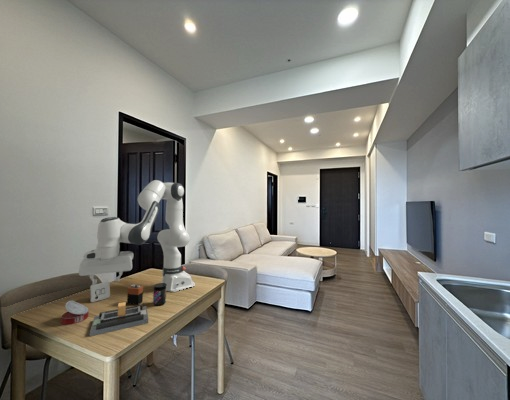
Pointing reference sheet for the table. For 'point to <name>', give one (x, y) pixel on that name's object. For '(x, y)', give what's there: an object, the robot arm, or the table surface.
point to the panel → (117, 327)
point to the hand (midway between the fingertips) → (106, 282)
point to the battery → (135, 294)
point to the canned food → (74, 313)
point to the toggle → (121, 308)
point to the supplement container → (159, 294)
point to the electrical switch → (100, 291)
